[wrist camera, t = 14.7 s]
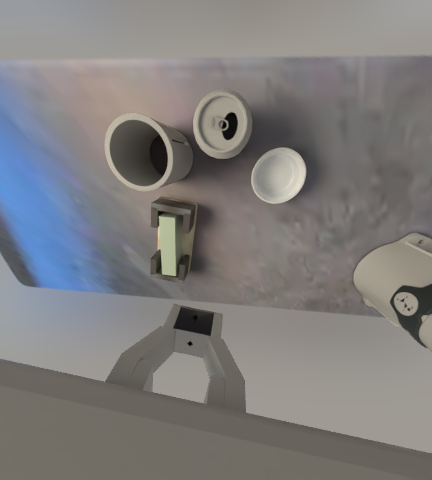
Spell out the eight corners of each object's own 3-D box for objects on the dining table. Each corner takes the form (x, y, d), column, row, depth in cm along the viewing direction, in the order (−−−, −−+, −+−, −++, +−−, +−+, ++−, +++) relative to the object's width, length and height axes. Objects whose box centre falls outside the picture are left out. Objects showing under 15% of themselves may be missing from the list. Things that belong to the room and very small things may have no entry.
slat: (182, 210, 38) (174, 218, 33) (182, 263, 43) (175, 276, 39) (168, 209, 38) (159, 216, 33) (169, 262, 43) (162, 274, 39)
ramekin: (286, 137, 31) (293, 135, 27) (305, 183, 34) (314, 186, 30) (241, 166, 34) (241, 168, 30) (262, 207, 37) (265, 212, 33)
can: (241, 162, 33) (244, 164, 23) (202, 154, 34) (186, 152, 23) (252, 114, 30) (262, 90, 19) (209, 105, 30) (194, 76, 20)
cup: (138, 163, 35) (95, 165, 24) (158, 116, 32) (118, 95, 21) (178, 190, 37) (154, 203, 26) (202, 148, 33) (185, 144, 22)
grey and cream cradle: (198, 203, 37) (192, 210, 33) (189, 270, 45) (184, 284, 40) (160, 196, 38) (149, 202, 33) (158, 264, 45) (149, 277, 40)
